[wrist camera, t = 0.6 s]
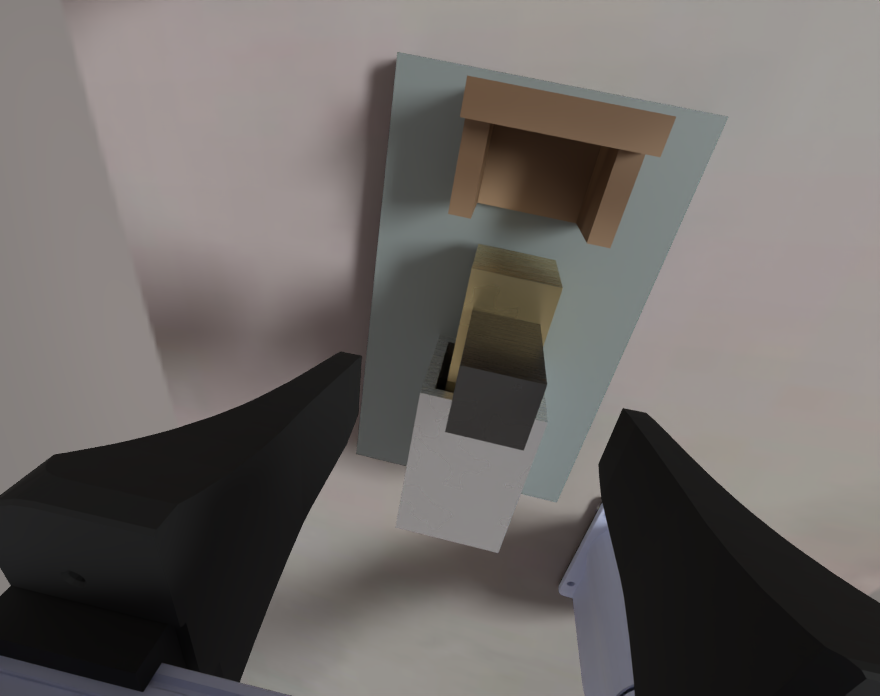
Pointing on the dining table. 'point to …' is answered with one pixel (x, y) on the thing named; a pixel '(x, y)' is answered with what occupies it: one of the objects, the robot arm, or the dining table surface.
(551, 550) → the dining table surface
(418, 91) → the slate board
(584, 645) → the robot arm
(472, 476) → the aluminium sleeve
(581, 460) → the dining table surface
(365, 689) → the dining table surface
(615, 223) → the walnut socket
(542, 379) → the brushed brass bar
